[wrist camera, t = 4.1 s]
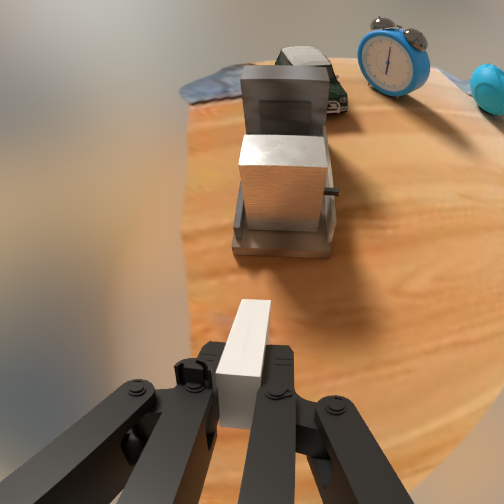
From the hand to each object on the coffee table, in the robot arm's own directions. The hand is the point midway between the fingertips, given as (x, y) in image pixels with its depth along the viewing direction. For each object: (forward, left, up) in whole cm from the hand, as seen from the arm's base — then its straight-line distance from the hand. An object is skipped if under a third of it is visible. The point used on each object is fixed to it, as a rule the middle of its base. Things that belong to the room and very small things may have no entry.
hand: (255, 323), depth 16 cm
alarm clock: (-21, -49, -12) cm, 55 cm away
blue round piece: (-47, -51, -12) cm, 70 cm away
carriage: (-2, -15, -10) cm, 18 cm away
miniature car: (-5, -44, -12) cm, 46 cm away
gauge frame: (-1, -21, -12) cm, 24 cm away
